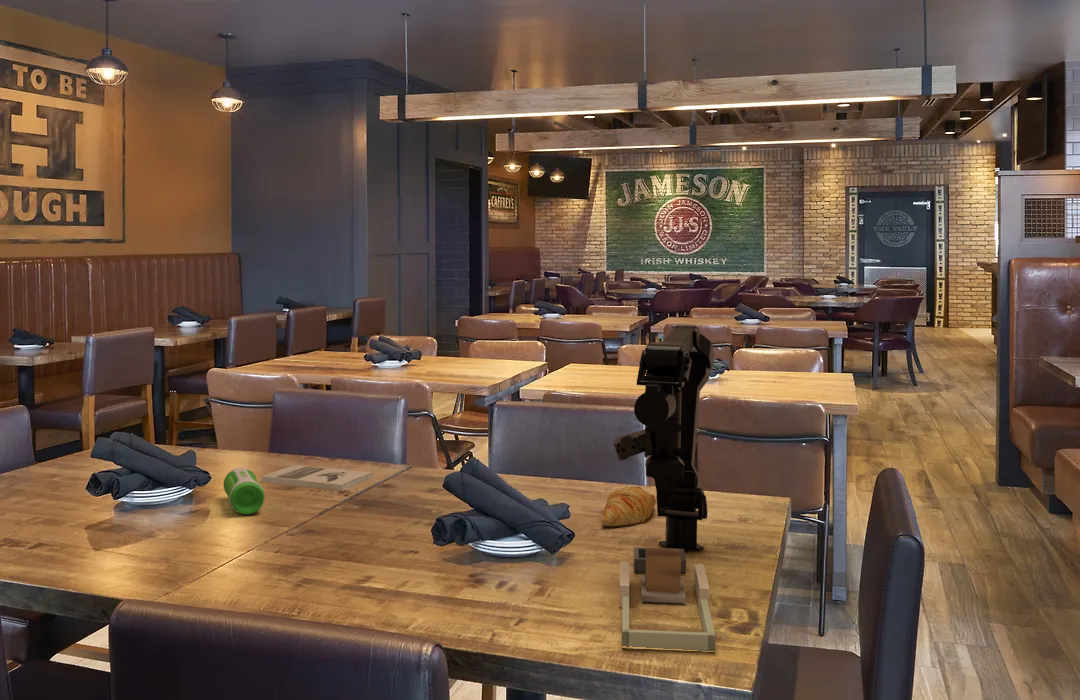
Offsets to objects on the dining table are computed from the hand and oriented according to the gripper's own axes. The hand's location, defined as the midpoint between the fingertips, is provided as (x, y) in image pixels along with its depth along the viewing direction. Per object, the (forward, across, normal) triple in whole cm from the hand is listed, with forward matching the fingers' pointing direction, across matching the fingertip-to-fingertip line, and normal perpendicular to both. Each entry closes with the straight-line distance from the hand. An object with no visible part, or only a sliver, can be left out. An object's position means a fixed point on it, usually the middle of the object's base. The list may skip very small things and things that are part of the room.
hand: (662, 507), depth 167 cm
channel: (+12, +10, 0) cm, 16 cm away
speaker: (+13, -38, -90) cm, 98 cm away
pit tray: (+12, -5, 0) cm, 14 cm away
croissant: (+13, -38, -6) cm, 41 cm away
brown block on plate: (+12, +8, 0) cm, 15 cm away
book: (+13, -64, -81) cm, 105 cm away
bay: (+12, +24, 0) cm, 27 cm away
